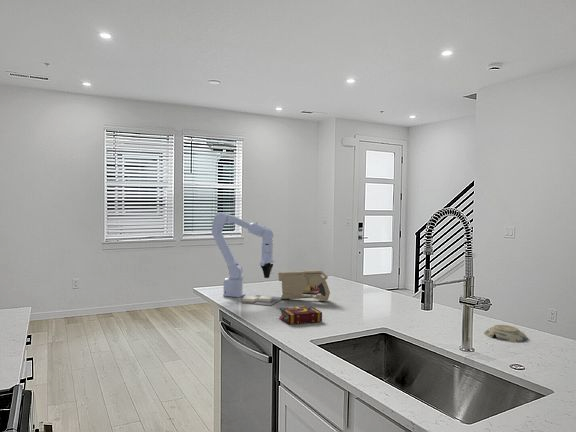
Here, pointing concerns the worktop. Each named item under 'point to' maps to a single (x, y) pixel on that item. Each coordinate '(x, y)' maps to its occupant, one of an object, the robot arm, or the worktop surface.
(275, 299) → the mat
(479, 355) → the worktop surface
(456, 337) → the worktop surface
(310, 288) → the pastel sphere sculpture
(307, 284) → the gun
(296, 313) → the decorative book
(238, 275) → the robot arm
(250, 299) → the flat tile
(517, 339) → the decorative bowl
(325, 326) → the worktop surface
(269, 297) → the tile
